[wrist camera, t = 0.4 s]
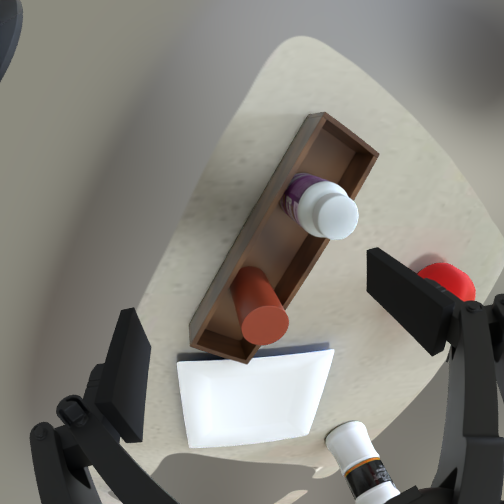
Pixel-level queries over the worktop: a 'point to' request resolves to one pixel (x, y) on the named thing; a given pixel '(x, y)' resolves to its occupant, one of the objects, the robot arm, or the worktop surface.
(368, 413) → the worktop surface
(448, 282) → the tomato
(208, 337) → the wooden tray
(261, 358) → the plate
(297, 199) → the pill bottle
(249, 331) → the spice tin
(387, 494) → the vodka
